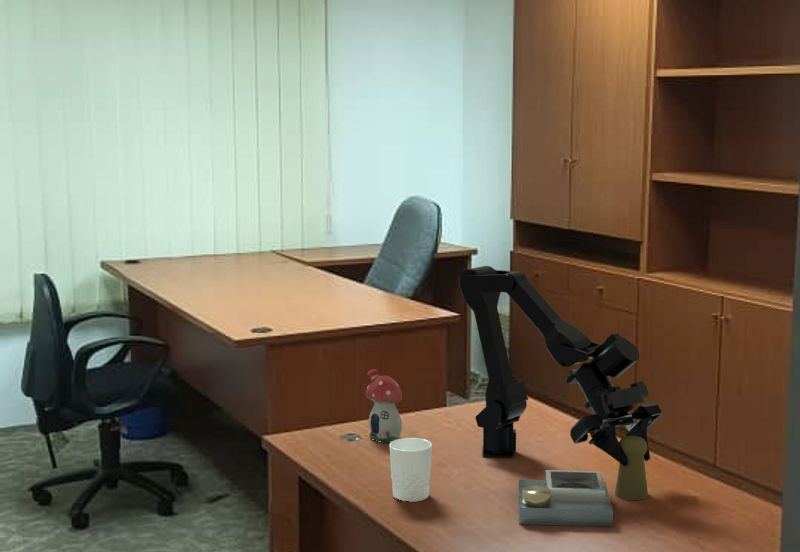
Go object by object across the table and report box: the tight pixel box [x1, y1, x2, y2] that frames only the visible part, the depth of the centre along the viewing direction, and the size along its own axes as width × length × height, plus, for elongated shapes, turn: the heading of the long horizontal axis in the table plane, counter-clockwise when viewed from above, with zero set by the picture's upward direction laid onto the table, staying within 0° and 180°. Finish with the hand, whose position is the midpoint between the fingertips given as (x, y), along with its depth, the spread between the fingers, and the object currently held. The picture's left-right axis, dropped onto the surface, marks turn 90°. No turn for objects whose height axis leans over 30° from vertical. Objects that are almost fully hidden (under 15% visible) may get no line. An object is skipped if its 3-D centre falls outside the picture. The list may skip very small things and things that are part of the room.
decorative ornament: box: [365, 368, 403, 443], centre depth 231 cm, size 9×7×15 cm
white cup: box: [388, 437, 433, 503], centre depth 197 cm, size 8×8×10 cm
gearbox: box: [517, 469, 614, 528], centre depth 190 cm, size 16×14×5 cm
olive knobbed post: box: [614, 435, 649, 501], centre depth 197 cm, size 6×6×11 cm
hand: (637, 462), depth 196 cm, fingers closed on olive knobbed post, 5 cm apart
